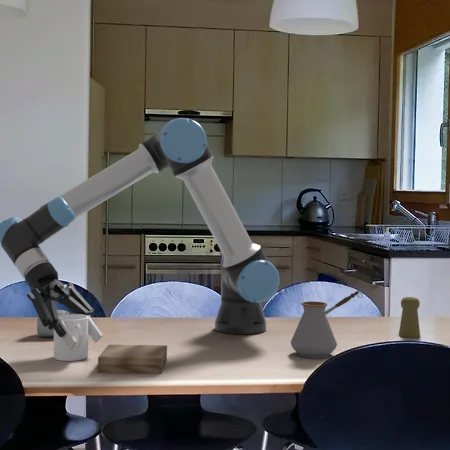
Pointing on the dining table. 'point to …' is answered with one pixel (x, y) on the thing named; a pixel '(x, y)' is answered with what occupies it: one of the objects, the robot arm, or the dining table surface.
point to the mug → (80, 332)
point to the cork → (409, 318)
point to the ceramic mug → (46, 331)
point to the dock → (133, 359)
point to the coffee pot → (316, 330)
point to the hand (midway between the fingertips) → (86, 342)
